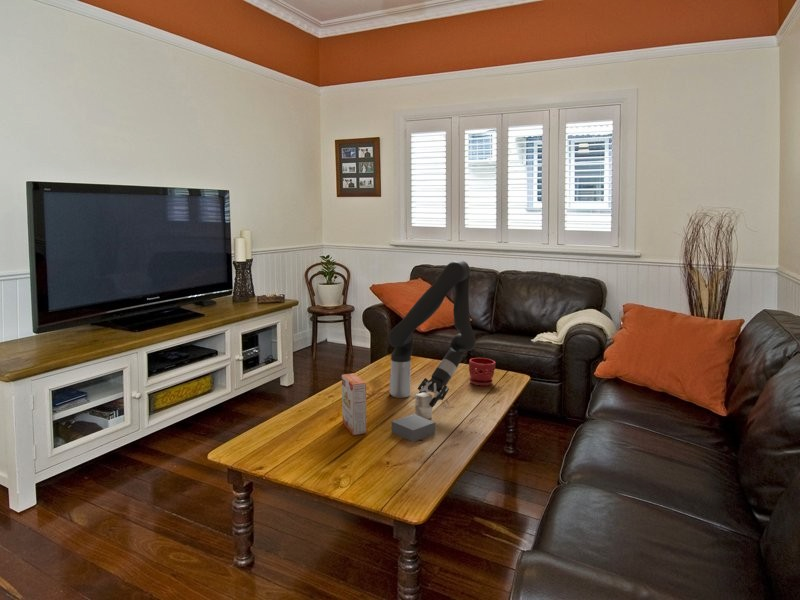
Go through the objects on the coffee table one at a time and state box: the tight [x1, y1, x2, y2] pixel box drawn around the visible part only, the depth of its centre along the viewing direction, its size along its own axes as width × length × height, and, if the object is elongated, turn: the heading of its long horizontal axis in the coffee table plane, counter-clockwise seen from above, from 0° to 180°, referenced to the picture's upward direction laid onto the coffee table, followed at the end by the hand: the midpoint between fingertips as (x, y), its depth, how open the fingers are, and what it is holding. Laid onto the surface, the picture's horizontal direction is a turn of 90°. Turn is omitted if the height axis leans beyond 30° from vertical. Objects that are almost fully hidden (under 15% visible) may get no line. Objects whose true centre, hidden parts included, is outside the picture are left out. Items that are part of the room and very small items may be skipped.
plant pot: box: [468, 357, 496, 387], centre depth 276 cm, size 13×13×12 cm
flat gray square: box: [391, 413, 436, 443], centre depth 214 cm, size 12×12×5 cm
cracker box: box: [341, 373, 367, 436], centre depth 217 cm, size 14×6×21 cm, turn 23°
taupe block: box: [414, 392, 433, 420], centre depth 230 cm, size 5×5×10 cm
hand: (423, 403), depth 230 cm, fingers open, 8 cm apart
